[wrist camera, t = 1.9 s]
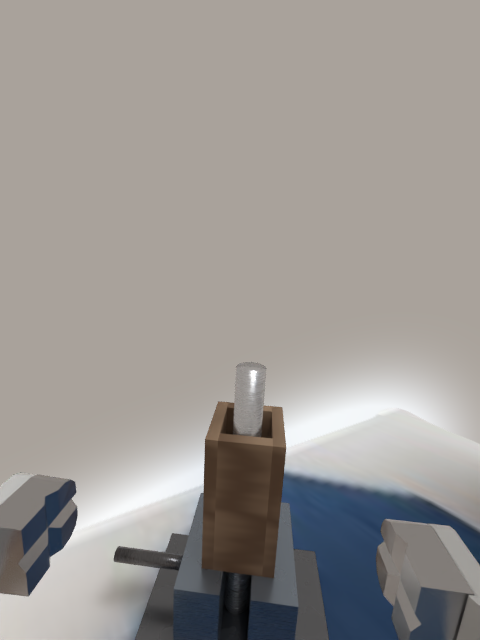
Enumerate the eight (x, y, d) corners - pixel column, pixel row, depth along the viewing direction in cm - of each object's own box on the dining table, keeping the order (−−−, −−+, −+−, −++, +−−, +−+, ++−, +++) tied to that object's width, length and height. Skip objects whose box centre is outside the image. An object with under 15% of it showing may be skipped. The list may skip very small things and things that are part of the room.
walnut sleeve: (272, 515, 25) (282, 407, 23) (274, 578, 20) (286, 447, 18) (214, 508, 25) (218, 401, 23) (201, 568, 20) (205, 439, 18)
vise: (312, 568, 29) (340, 352, 24) (336, 728, 19) (389, 416, 14) (143, 545, 30) (138, 337, 25) (83, 684, 20) (58, 386, 16)
